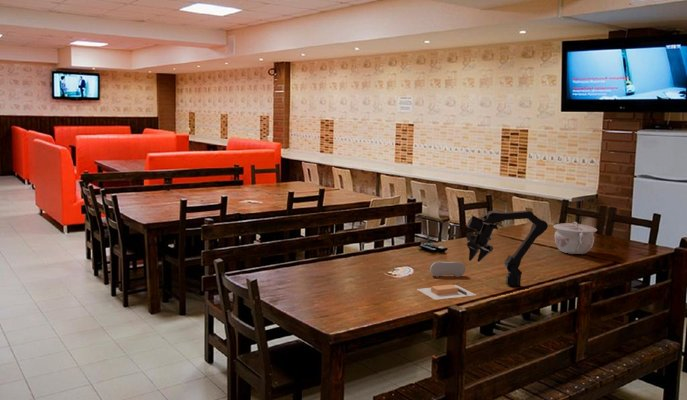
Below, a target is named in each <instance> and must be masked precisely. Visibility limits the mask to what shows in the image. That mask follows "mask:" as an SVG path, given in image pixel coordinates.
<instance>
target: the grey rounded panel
mask: <svg viewBox="0 0 687 400" xmlns="http://www.w3.org/2000/svg"><path fill="white" fill-rule="evenodd" d="M429 271H430V273H431V275H432V276H433V277H435V276H436V277H435V278H439V276H440V277H443V276H454V277H456V278H457V277H458V278H459V277H462V276H463V275H464V274H465V272H466V267H465V265H464V264H463V263H462V262H461V261H435V262H433V263H432V264H431V266H430V268H429Z"/></svg>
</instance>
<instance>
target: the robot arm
mask: <svg viewBox="0 0 687 400" xmlns="http://www.w3.org/2000/svg"><path fill="white" fill-rule="evenodd" d="M525 219H526V220H529V221H530V222H531V223H532V225H531V226H530V231H529V233H528V234H527V236H526V237H525V238H524V240H523V242H521V244H520V245H519V247H518V248H517V249H516V251H515V252H514V253H513V254H512V255H510V254H508V255H507V258H506V259H504V267H505V269H506V270H507V275H506V279H505V280H506V281H505V284H506V285H507V286H508V287H510V288H512V287H513V288H516V287H517V288H521V287H522V285H521V281H522V274H523V272H522V271H521V270H520V269H519V268H520V266H521V262H522V259H523V258H524V256H525V255H526V254H527V252H528V250H529V249H530V248H531V246H532V245H533V244H534V242H535V241H536V240H537V238H538V237H540V236H541V235H542V234H544V232H545V231H546V230H548V226H549V225H548V223H547V222H546V221H545V220H543V218H539V217H537V215H535V214H534V213H533V212H532V211H531V210H527V209H526V210H520V211H518V210H517V211H516V210H515V211H504V212H503V211H498V210H497V211H496V210H489V211H488V212H487V213H486V215H484V216H482V217H477V216H476V215H471V217H470V219H469V220H468V222H467V224H466V226H467V228H469V229H471V230H474V231H477V232H478V231H479V233H477V234H476V235H475V234H474V235H473V233H471V232H467V234H466V236H465V238H466V241H467V243H466V246H467V248H468V250H469V256H468V261H470V262H472V260H473V259H474V258H475V256H476V255H477V254H478V257H477V262H478V263H479V262H481V261H482V260H483V259H484V258H485V257H486V256H487V255H489V254H491V252H493V250H494V247H493V245H490V244H489V241H491V239H492V238H491V237H492V234H493V232H494V229H495V230H499V227H498V225H497V224H498V223H501V222H504V221H510V220H525Z"/></svg>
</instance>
